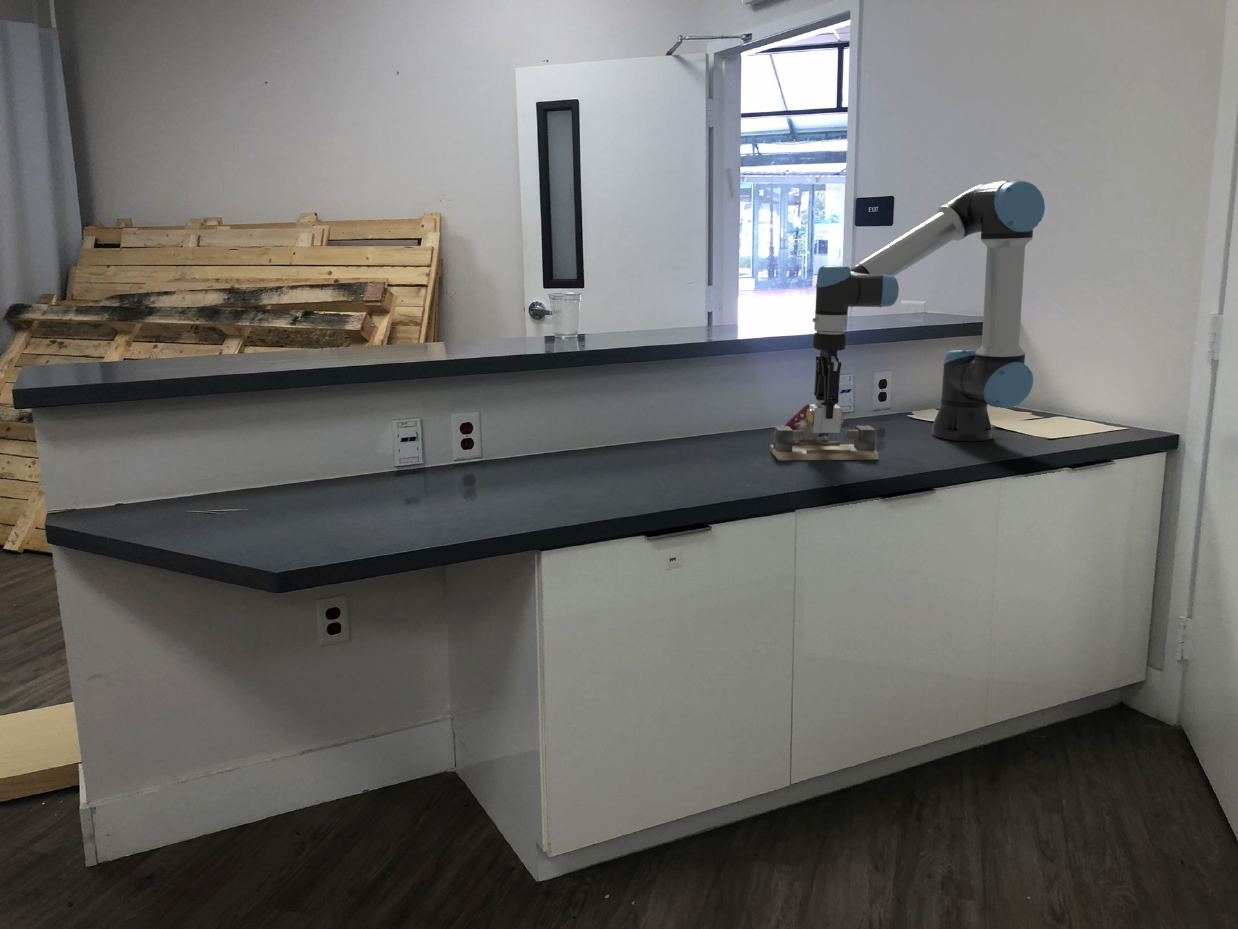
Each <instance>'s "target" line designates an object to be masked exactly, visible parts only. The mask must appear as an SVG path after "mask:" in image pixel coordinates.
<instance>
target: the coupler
mask: <svg viewBox="0 0 1238 929" xmlns="http://www.w3.org/2000/svg"><path fill="white" fill-rule="evenodd" d="M809 405H810V407H809V409H807V413H806V425H807V427H808V429H809V430H811V431H812V432H813V433H828V434H830V433H831V434H839V433H841V428H843V426H844V420H845V419H844V415H845V414H844V412H843V409H842V407H840V406H839V405H837V404H835V410H834V425H833V432H821V424H822V409H823V405H821V404H816V403H815V404H814V403H813V404H809Z"/></svg>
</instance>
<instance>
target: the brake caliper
mask: <svg viewBox="0 0 1238 929" xmlns="http://www.w3.org/2000/svg"><path fill="white" fill-rule="evenodd" d="M809 407H810V404H809V403H808V404H805V405H804V406H802V408H801V409H800V410H799V411H798V412H797V413H796V414H794V415H793V416H792V417H791V418H790V419H789V420H787V422H786V423H785V424H784V426H789V427H790V428H791V429H792V430H802V431H803V439H802V440H793V445H797V443H798V442H830V441H829V440H830V439H829V433H813V432H812V431H811V430H809V429H808V427H807V425H806V413H807V410H808V409H809ZM801 415H803V416H801ZM800 422H801V423H800ZM797 425H798V426H797Z"/></svg>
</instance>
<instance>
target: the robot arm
mask: <svg viewBox="0 0 1238 929" xmlns="http://www.w3.org/2000/svg"><path fill="white" fill-rule="evenodd" d="M1045 205H1046V204H1045V198H1044V196H1043V193H1042V192H1041V191H1040V190H1039V189H1038V187H1037V186H1036V185H1035V184H1033V183H1032V182H1030V181H1025V180H1014V179H1013V180H1005V181H995V182H994V181H993V182H984V183H981V184H977V185H975V186H973V187H970V188H969V189H967V190H966V191H964V192H963V193H961V194H959V195H958V196H956V197H954V198H953V199H951V200H950V201H949V202H947V203H945V204H943V205H941V207H939V208H938V210H937V214H935V215H933V216H931V217H930V218H929V219H927V220H926V221H924V222H922V223H920V224H919V225H917V226H916V227H914V228H913V229H911V230H909V231H908V232H906V233H904V234H903V235H902V236H900V237H898V238H896V239H895V240H893V241H892V242H891V243H889V244H887V245H885V246H884V247H883V248H881V249H878V250H877V251H876V252H874V253H873V254H870V256H867V257H866V258H865V259H863V260H861V261H860V262H858V263H857V264H855V265H854V266H852V267H850V266H848V265H822V266H820V267H818V268H819V269H818V271H817V275H816V276H817V277H816V284H815V289H816V290H815V291H816V292H815V311H814V317H813V318H812V322H813V323H814V327H813V328H814V331H815V333H814V334H813V338H812V339H813V341H812V347H813V349H815V350H817V351H820V352H819V355H816V356H815V373H814V374H815V376H814V378H815V379H814V388H813V389H814V392H813V395H814V397H815V399H816V400H815V401H816V403H815V404H821V405H823V409H822V424H821V432H833V425H834V410H835V404H836V405H837V404H838V403H839V397H840V396H839V394H840V377H841V376H840V374H841V370H842V362H841V361H839V357H838V351H843V350H845V349H846V344H847V335H846V332H847V330H848V318H849V317H848V315H849V312H848V311H849V308H854V307H858V308H859V307H860V308H875V307H876V308H879V309H880V308H883V307H891V306H893V305H895V304H896V302H897V300H898V297H899V291H900V290H899V289H900V287H899V286H900V285H899V281H898V279H897V278H896V276H897V275H898V274H900V273H901V272H903V271H904V270H907V269H908V268H910V267H912V266H913V265H914V264H916V263H917V262H920V261H921V260H923V259H924V258H926V257H927V256H929V255H931V254H932V253H934V252H936V251H938V250H939V249H940V248H942V247H943V246H945V245H947V244H948V243H950V242H952V241H961V240H962V239H965V237H968V236H969V235H972V234H976V233H980V241H981V242H982V243H983V244H984V245H985V246H986V263H985V281H984V296H983V297H984V300H983V317H982V318H983V320H982V334H981V336H982V337H981V346H980V347H979V348H978V349H966V350H965V349H963V350H961V349H960V350H948V351H947V352H946V353H945V357H944V361H943V373H942V374H943V375H942V383H941V384H942V385H941V386H942V388H941V397H940V398H941V399H940V407H939V409H938V411H937V413H936V417H935V418H934V421H933V423H932V426H931V435H932V436H934V437H935V438H936V437H937V438H940V439H944V440H948V441H949V440H950V441H957V442H982V441H983V442H984V441H988V440H991V439H992V435H993V428H992V425H991V419H990V416H989V412H988V405H989V406H991V407H993V408H1002V409H1010V408H1015V407H1016V406H1019V405H1021V404H1022V403H1023V402H1024V401H1025V399H1027V398H1028V397H1029V394H1031V391H1032V388H1033V386H1034V374H1033V372H1032V370H1031V369H1030V368H1029V367H1028V365H1027V364H1026V363H1025V362H1026V360H1025V359H1026V352H1025V350H1024V349H1022V347H1021V346H1020V335H1021V320H1022V319H1021V318H1022V305H1023V304H1022V302H1023V301H1022V300H1023V287H1024V272H1025V271H1024V270H1025V258H1026V257H1025V256H1026V255H1025V254H1026V246H1027V244H1029V243H1030V242H1031V241H1032V240H1033V238H1034V237H1033V235H1034V229H1035V228H1036V227H1037V226H1038V225H1039V223H1040V222H1041V221H1042V220H1043V218H1044V214H1045V210H1046V209H1045V207H1046V206H1045Z"/></svg>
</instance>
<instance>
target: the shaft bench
mask: <svg viewBox="0 0 1238 929" xmlns="http://www.w3.org/2000/svg"><path fill="white" fill-rule="evenodd" d="M844 436H845V437H844V438H845V440H846V441H847V440H848V441H851V440H853V444H852V443H851V444H850V443H849V444H841V442H840V441H828V442H798V443H797V445H793V440H802V439H803V431H802V430H792V429H791V428H790V427H789V426H785V425H782V426H781V425H779V426H778V425H774V426H773V443H772V444H770V446H769V452H770V453H771V454H772V455H773V456H774V457H775V458H776V459H777V460H778V461H823V460H824V461H833V460H834V461H835V460H836V461H837V460H838V461H841V460H842V461H845V460H847V461H848V460H852V461H853V460H855V461H856V460H859V461H861V460H864V461H865V460H879V454H880V453H879V452H878V451H877V450H875V447H876V446H875V445H876V444H875V443H876V429H875V428H873V427H872V426H870V425H854V429H845V433H844Z"/></svg>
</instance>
